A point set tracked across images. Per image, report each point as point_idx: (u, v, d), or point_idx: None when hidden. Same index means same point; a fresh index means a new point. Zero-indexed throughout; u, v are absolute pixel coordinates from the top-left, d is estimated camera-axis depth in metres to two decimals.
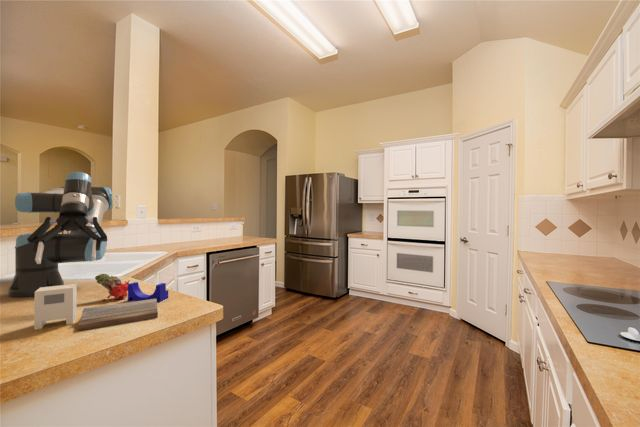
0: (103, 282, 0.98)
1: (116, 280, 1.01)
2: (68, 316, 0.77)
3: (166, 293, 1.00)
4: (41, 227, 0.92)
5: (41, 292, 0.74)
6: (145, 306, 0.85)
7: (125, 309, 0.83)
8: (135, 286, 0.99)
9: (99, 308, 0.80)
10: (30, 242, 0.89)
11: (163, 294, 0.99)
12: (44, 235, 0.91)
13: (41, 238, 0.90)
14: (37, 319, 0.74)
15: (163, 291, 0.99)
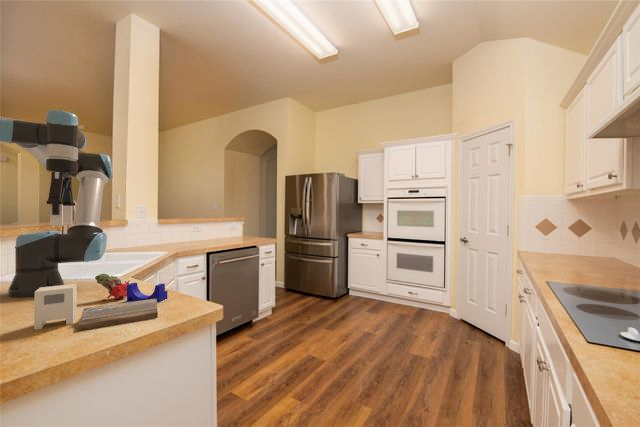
0: (103, 282, 0.98)
1: (116, 280, 1.01)
2: (68, 316, 0.77)
3: (165, 293, 1.00)
4: None
5: (41, 292, 0.74)
6: (145, 306, 0.85)
7: (125, 309, 0.83)
8: (134, 286, 0.99)
9: (99, 308, 0.80)
10: None
11: (162, 294, 0.98)
12: None
13: (62, 201, 0.96)
14: (37, 319, 0.74)
15: (162, 291, 0.98)
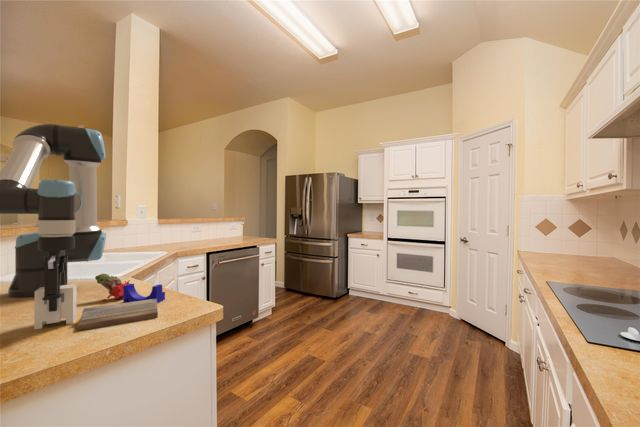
0: (103, 282, 0.98)
1: (116, 280, 1.01)
2: (68, 316, 0.77)
3: (163, 295, 0.98)
4: None
5: (41, 292, 0.74)
6: (145, 306, 0.85)
7: (125, 309, 0.83)
8: (131, 288, 0.97)
9: (99, 308, 0.80)
10: None
11: (160, 295, 0.97)
12: None
13: None
14: (37, 319, 0.74)
15: (160, 292, 0.97)
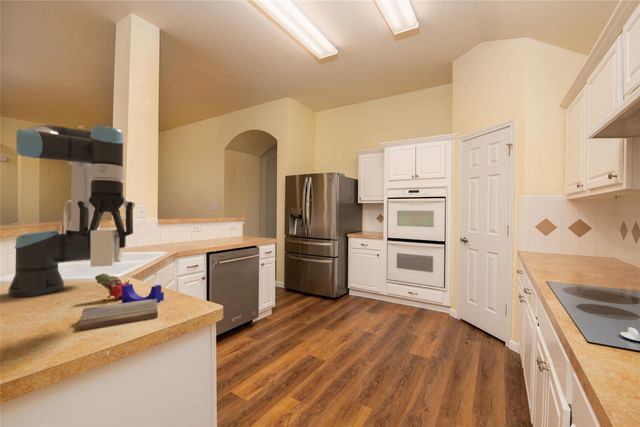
0: (103, 282, 0.98)
1: (116, 280, 1.01)
2: None
3: (161, 295, 0.98)
4: (82, 216, 0.79)
5: (113, 231, 0.80)
6: (145, 306, 0.85)
7: (125, 309, 0.83)
8: (129, 288, 0.97)
9: (99, 308, 0.80)
10: None
11: (159, 296, 0.96)
12: (91, 227, 0.80)
13: None
14: (112, 256, 0.80)
15: (159, 293, 0.96)
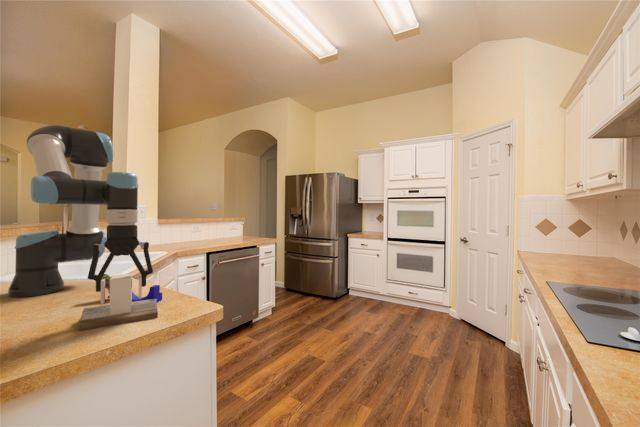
0: None
1: None
2: None
3: (160, 295, 0.98)
4: (94, 260, 0.79)
5: (131, 278, 0.83)
6: (145, 306, 0.85)
7: None
8: None
9: (99, 308, 0.80)
10: None
11: (157, 296, 0.96)
12: (102, 271, 0.80)
13: (101, 275, 0.80)
14: None
15: (157, 293, 0.96)
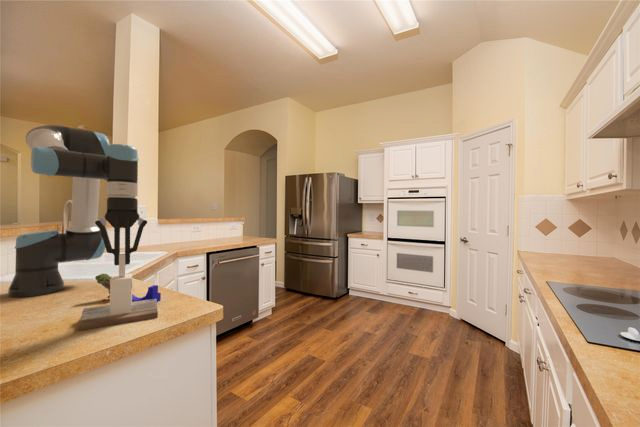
0: (103, 282, 0.98)
1: None
2: None
3: (158, 295, 0.97)
4: (104, 234, 0.80)
5: (131, 278, 0.83)
6: (145, 306, 0.85)
7: None
8: None
9: (99, 308, 0.80)
10: None
11: (156, 296, 0.96)
12: (116, 244, 0.82)
13: (117, 248, 0.82)
14: (131, 302, 0.82)
15: (156, 293, 0.96)
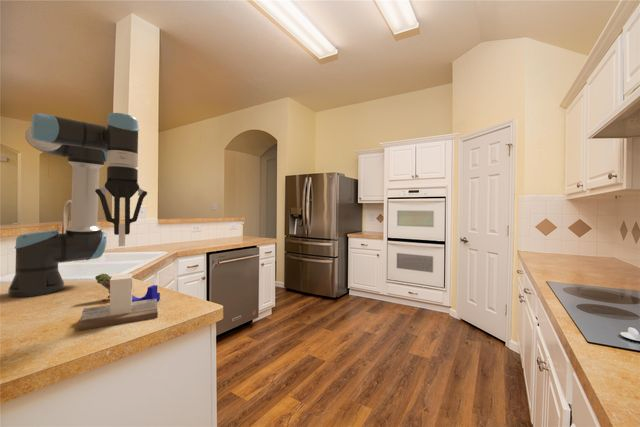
0: (103, 282, 0.98)
1: None
2: None
3: (158, 295, 0.97)
4: (104, 203, 0.80)
5: (131, 278, 0.83)
6: (145, 306, 0.85)
7: None
8: None
9: (99, 308, 0.80)
10: None
11: (155, 296, 0.96)
12: (116, 214, 0.82)
13: (117, 218, 0.82)
14: (131, 302, 0.82)
15: (155, 293, 0.96)
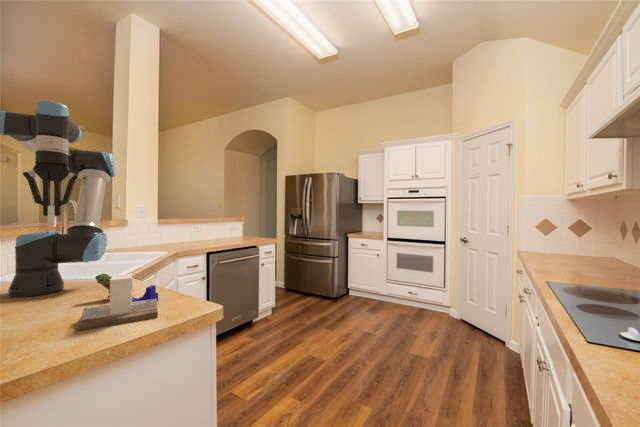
0: (103, 282, 0.98)
1: None
2: None
3: (156, 296, 0.97)
4: (32, 186, 0.85)
5: (131, 278, 0.83)
6: (145, 306, 0.85)
7: None
8: None
9: (99, 308, 0.80)
10: None
11: (153, 297, 0.96)
12: (45, 196, 0.86)
13: (46, 200, 0.87)
14: (131, 302, 0.82)
15: (153, 293, 0.96)
